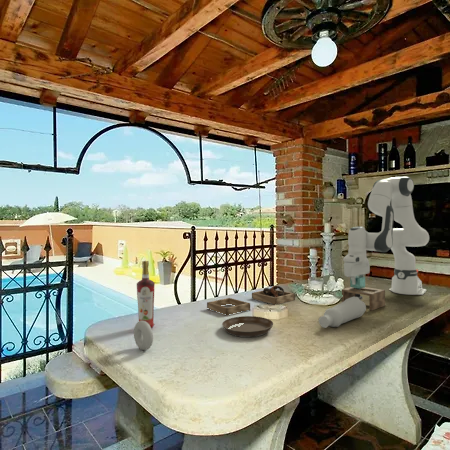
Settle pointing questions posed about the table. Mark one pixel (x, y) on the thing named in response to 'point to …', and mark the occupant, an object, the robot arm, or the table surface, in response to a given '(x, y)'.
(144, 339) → the donut
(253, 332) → the plant saucer
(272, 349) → the table surface
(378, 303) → the tan hollow wooden block
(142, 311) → the liquor
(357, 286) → the teal stemmed block
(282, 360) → the table surface
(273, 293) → the pottery mug
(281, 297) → the tray
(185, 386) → the table surface
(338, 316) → the bottle
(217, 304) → the tray
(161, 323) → the table surface
